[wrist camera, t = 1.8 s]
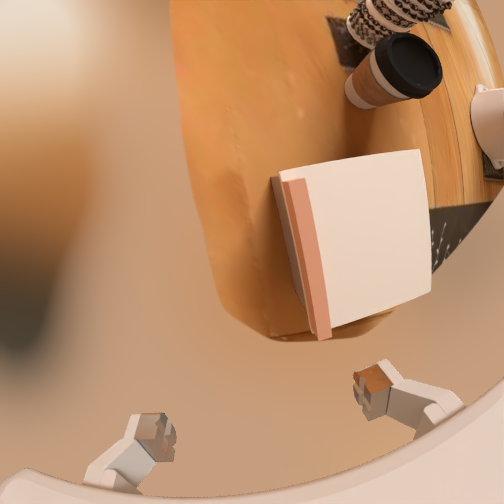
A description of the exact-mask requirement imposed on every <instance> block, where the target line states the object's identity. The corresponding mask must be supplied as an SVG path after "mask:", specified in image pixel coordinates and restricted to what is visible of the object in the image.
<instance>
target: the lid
mask: <svg viewBox="0 0 504 504" xmlns="http://www.w3.org/2000/svg"><path fill="white" fill-rule="evenodd" d="M278 175H279V179H280V183H281V187H282V192H283V196H284V200H285V205H286V209H287V214H288V218H289V223H290V227H291V232H292V237H293V242H294V246H295V251H296V256H297V261H298V266H299V271H300V276H301V282H302V287H303V292H304V298H305V303H306V309H307V314H308V320H309V326H310V330H311V332H312V334H314V333H315V335H316V337H317V339H318V341H321V340H324V339H327V338H330V337H332V331H331V328H334V327H337V326H340V325H343V324H346V323H349V322H352V321H355V320H358V319H361V318H364V317H367V316H370V315H372V314H375V313H378V312H381V311H383V310H386V309H389V308H391V307H394V306H396V305H399V304H401V303H404V302H406V301H409V300H411V299H414V298H416V297H418V296H421V295H423V294H425V293H428V292H430V291H431V238H430V222H429V210H428V200H427V192H426V184H425V177H424V171H423V165H422V160H421V154H420V149H413V150H404V151H396V152H388V153H380V154H373V155H366V156H360V157H353V158H347V159H341V160H335V161H329V162H324V163H319V164H313V165H308V166H303V167H298V168H293V169H288V170H284V171H279V172H278Z"/></svg>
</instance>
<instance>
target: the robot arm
mask: <svg viewBox="0 0 504 504" xmlns="http://www.w3.org/2000/svg"><path fill="white" fill-rule="evenodd" d="M471 120H472V125H473V129H474V132H475V135H476V138H477V140H478V143H479V145H480V146H481V148H482V150H483V151H484V153H485V154H486V155H487V156H488V157H489V158H490V160H491V162H492V164H493V166H494V168H495V169H500V168H502V167H503V166H504V88H498V89H491V90H490V89H488V88H486V87H484V86H483V85H481V84H478V85H476V91H475V96H474V97H473V99H472V102H471ZM353 378H354V380H355V384H354V385H353V389H354V395H355V398H356V401H357V402H358V404H359V405H362V406H363V413H364V414H365V416H366V418H367V420H368V421H370V420H373V419H376V418H378V417H381V416H383V415H385V414H386V415H387V416H389V417H391V418H393V419H395V420H397V421H399V422H401V423H403V424H405V425H407V426H410V427H412V428H414V429H416V430H417V431H416V434H415V436H414V439H413V441H411V442H409V443H408V444H406V445H404V446H402V447H400V448H398V449H396V450H393V451H391V452H389V453H387V454H385V455H383V456H380V457H378V458H376V459H373V460H371V461H369V462H366V463H364V464H361V465H359V466H357V467H353V468H351V469H348V470H345V471H342V472H339V473H336V474H333V475H330V476H327V477H323V478H320V479H316V480H312V481H309V482H305V483H301V484H297V485H293V486H288V487H283V488H278V489H273V490H267V491H262V492H255V493H247V494H239V495H231V496H230V495H229V496H216V497H160V496H146V495H143V494H142V493H141V492H140V491H138V490H137V489H136V487H137V486H138V485H139V484H140V483H141V481H142V480H143V479H144V478H145V477H146V475H147V474H148V473H149V472H150V470H151V469H152V468H153V467H154V465H155V464H156V462H173V460H174V453H175V450H174V449H173V447H172V446H173V445H174V444H175V443H176V431H175V429H174V427H173V425H172V424H171V423H169V422H167V419H168V418H167V416H166V415H165V413H138V414H137V413H135V414H134V413H133V414H132V415H131V417H130V419H129V422H128V425H127V428H126V431H125V435H124V438H123V439H120V440H119V441H118V442H116V443H115V444H114V445H113V446H112V447H111V448H109V449H108V450H107V451H106V452H104V453H103V454H102V455H101V456H100V457H98V458H97V459H96V460H95V461H94V462H92V463H91V464H90V465H89V466H88V469H87V472H86V475H85V477H84V480H83V483H82V485H81V484H77V483H73V482H70V481H66V480H63V479H59V478H56V477H53V476H50V475H47V474H44V473H42V472H39V471H36V470H34V469H30V468H24V469H22V470H20V471H18V472H16V473H15V474H13V475H12V476H10V477H8V478H7V479H5V480H4V482H3V483H2V485H1V486H0V504H504V377H503V378H502V379H501V380H500V381H498V382H497V383H496V384H495V385H494V386H493V387H491V388H490V389H489V390H488V391H487V392H486V393H484V394H483V395H482V396H480V397H479V398H478V399H477V400H475V401H474V402H473V403H472V404H470V405H469V406H467V407H466V406H465V405H464V404H463V402H461V400H460V399H459V398H458V397H457V396H456V395H455V394H454V393H453V392H452V391H450V390H446V389H443V388H438V387H435V386H431V385H427V384H424V383H420V382H417V381H413V380H410V379H406V380H404V378H403V377H402V376H401V375H400V374H399V373H398V372H397V370H396V369H395V368H394V367H393V366H392V364H391V363H390V362H389V361H388V360H386V359H384V360H382V361H380V362H377V363H376V364H372V365H370V366H367V367H365V368H362V369H360V370H357V371H354V374H353Z"/></svg>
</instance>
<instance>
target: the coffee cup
mask: <svg viewBox="0 0 504 504" xmlns="http://www.w3.org/2000/svg"><path fill="white" fill-rule="evenodd" d="M442 76H443V72H442V66H441V63H440V60H439V58H438V56H437V54H436V53H435V51H434V50H433V49H432V48H431V47H430V46H429V45H428V44H427V43H426V42H425V41H424V40H423V39H421V38H420V37H418V36H416V35H414V34H410V33H404V32H402V33H396V34H393V35H387V36H384V37H382V38H381V39H379V40H378V42H377V43H376V46H375V48H373V49H372V50H371V51H370V52H369V54H368V55H367V56H366V57H365V58H364V60H363V61H362V62H361V63H360V64H359V65H358V67H357V68H356V69H355V70H354V72H353V73H352V74H351V75H350V76H349V77H348V78H347V80H346V81H345V84H344V91H345V94H346V96H347V98H348V99H349V101H350V102H351V103H352V104H353V105H355V106H356V107H358V108H361V109H371V108H375V107H378V106H383V105H387V104H391V103H395V102H400V101H405V100H409V99H412V98H414V99H420V98H424V97H425V96H427V95H429V94H430V93H431V92H432V91H433V89H435V88H436V87H437V86H438V85H439V84H440V82H441V80H442Z"/></svg>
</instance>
